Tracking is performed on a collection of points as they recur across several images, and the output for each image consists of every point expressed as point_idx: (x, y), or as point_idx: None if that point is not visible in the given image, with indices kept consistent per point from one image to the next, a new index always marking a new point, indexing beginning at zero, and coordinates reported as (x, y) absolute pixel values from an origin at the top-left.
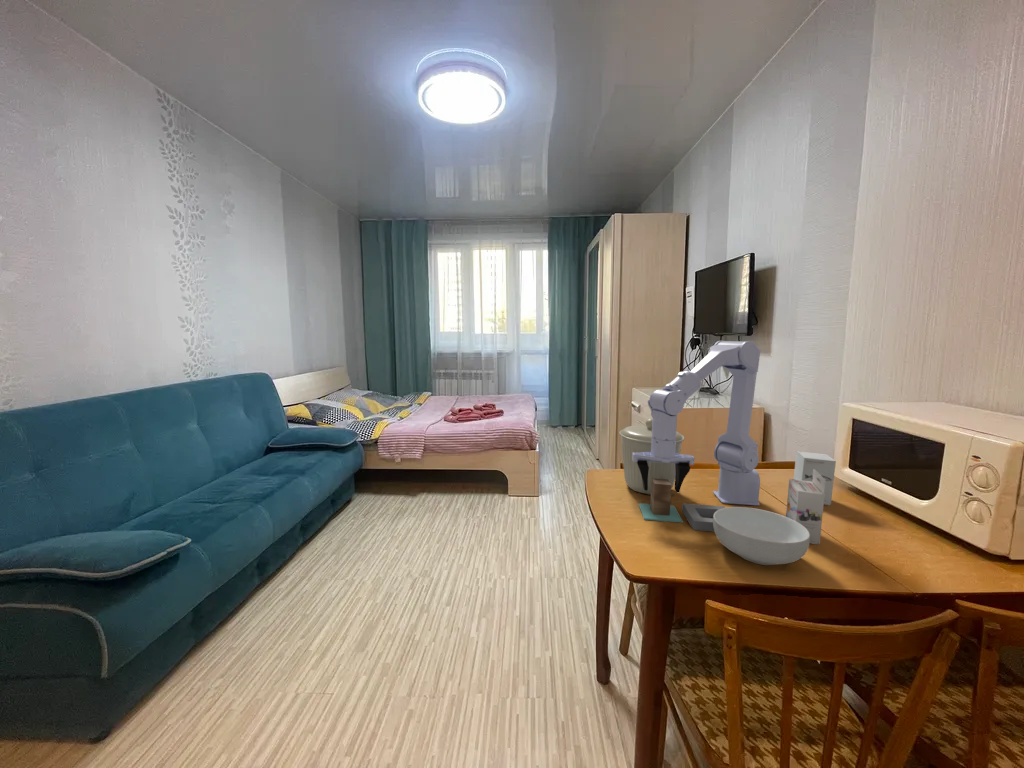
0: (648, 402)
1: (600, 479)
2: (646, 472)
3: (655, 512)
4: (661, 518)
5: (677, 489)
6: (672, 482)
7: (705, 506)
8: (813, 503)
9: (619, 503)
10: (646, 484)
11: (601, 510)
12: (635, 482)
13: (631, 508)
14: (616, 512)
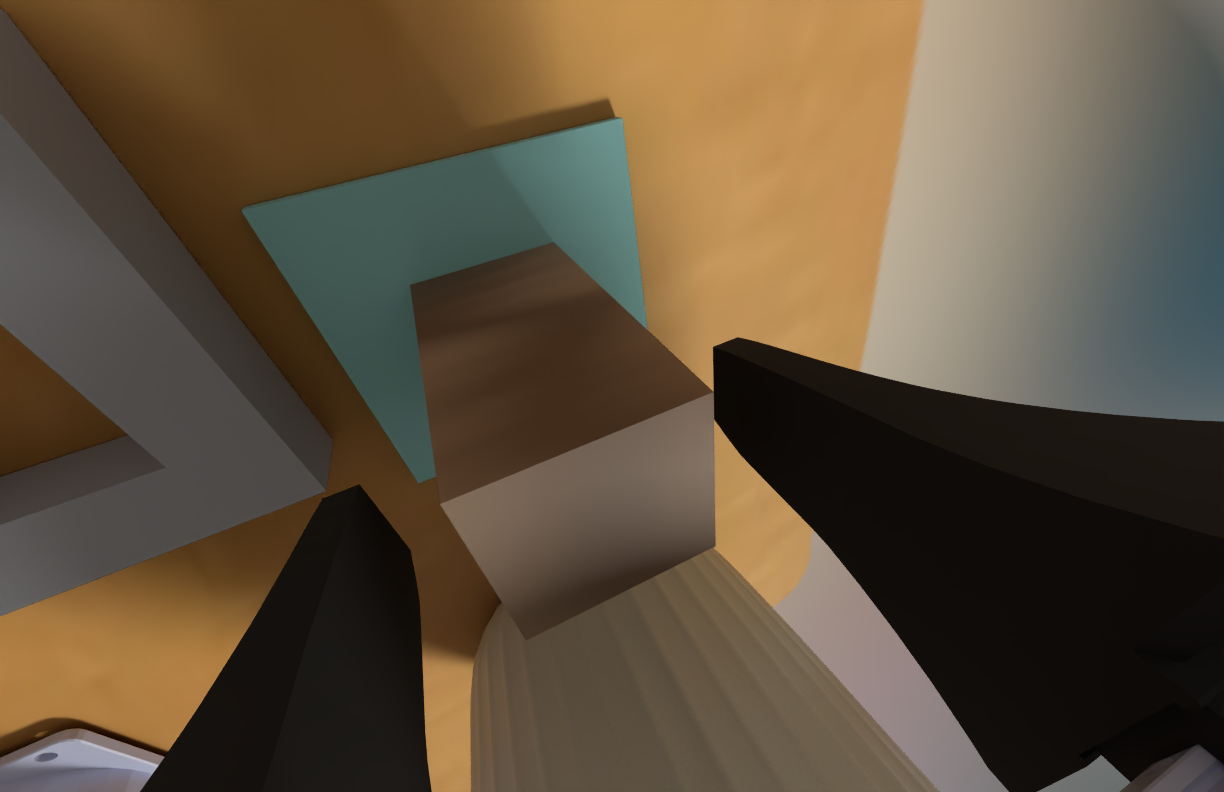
0: None
1: (792, 542)
2: (1032, 453)
3: (539, 252)
4: (471, 181)
5: (341, 517)
6: (479, 693)
7: (62, 557)
8: None
9: (756, 341)
10: (787, 367)
11: (881, 171)
12: (701, 558)
13: (696, 302)
14: (799, 180)
